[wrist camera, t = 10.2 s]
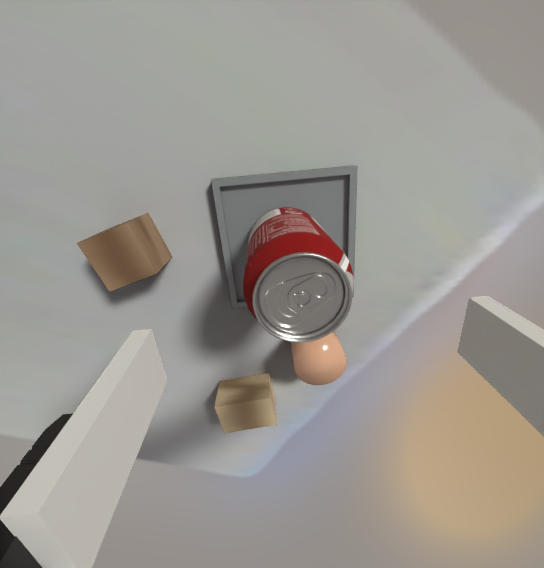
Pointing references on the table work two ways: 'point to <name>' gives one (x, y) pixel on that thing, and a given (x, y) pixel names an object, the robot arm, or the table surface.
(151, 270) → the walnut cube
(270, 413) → the oak block
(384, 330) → the table surface
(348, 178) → the tray
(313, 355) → the peach rounded capsule part
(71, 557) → the robot arm
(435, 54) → the table surface
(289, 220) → the soda can
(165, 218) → the table surface
